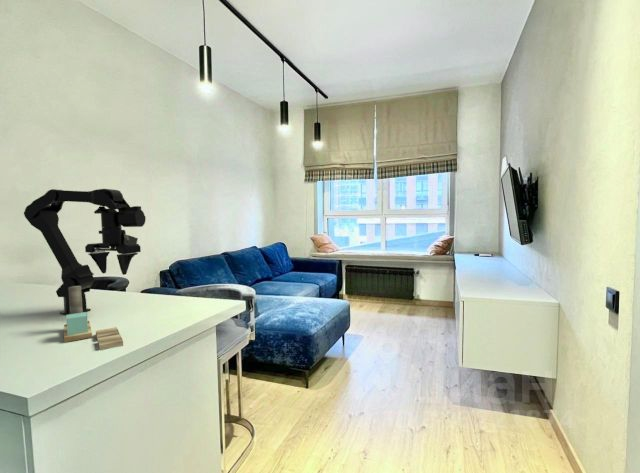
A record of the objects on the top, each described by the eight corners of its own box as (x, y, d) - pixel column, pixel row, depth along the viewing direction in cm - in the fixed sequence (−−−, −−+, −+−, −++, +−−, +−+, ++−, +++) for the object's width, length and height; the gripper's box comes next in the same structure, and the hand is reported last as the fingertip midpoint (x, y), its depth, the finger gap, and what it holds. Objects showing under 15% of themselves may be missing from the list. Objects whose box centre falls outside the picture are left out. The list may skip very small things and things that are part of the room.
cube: (67, 331, 96) (66, 314, 95) (87, 327, 98) (86, 312, 98) (67, 335, 92) (66, 318, 92) (88, 332, 95) (87, 315, 94)
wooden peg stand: (64, 328, 102) (61, 286, 101) (89, 324, 105) (86, 284, 104) (64, 342, 91) (61, 295, 90) (92, 337, 94) (89, 292, 93)
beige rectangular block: (95, 334, 96) (95, 330, 96) (116, 331, 99) (116, 326, 99) (99, 350, 85) (99, 345, 85) (123, 345, 88) (123, 340, 88)
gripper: (152, 226, 121) (154, 271, 122) (112, 226, 128) (115, 269, 129) (124, 227, 111) (127, 276, 112) (82, 227, 117) (85, 274, 118)
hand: (114, 273), depth 118 cm, fingers open, 9 cm apart
